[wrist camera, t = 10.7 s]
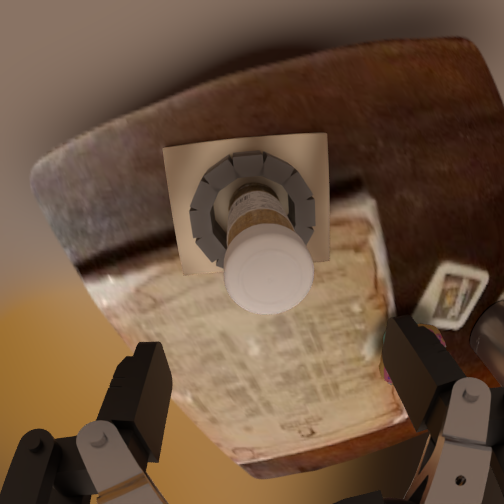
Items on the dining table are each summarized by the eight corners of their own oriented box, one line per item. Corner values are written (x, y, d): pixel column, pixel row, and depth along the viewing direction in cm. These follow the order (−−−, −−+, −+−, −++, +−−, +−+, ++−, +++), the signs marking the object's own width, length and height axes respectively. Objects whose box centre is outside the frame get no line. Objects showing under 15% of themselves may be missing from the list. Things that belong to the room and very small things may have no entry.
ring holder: (323, 132, 27) (339, 135, 22) (326, 255, 32) (339, 277, 27) (165, 147, 27) (152, 152, 22) (185, 269, 31) (177, 294, 27)
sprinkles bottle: (245, 240, 29) (254, 331, 17) (218, 198, 28) (204, 266, 15) (289, 214, 28) (330, 291, 16) (263, 170, 27) (288, 217, 14)
